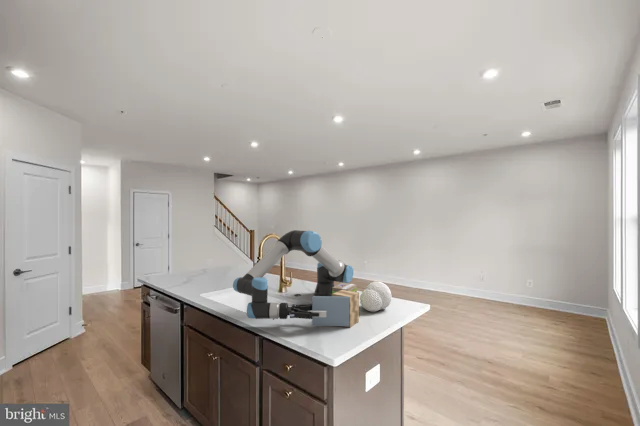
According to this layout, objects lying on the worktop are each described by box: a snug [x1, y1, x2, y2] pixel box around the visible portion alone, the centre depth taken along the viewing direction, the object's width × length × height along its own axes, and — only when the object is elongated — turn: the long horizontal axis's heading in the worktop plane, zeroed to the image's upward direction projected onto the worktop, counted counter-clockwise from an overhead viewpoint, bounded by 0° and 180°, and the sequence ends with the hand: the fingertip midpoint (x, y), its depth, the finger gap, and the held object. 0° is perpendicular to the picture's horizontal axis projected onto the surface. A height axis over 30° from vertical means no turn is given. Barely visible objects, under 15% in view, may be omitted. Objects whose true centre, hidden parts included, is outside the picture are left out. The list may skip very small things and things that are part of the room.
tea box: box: [332, 282, 358, 294], centre depth 172 cm, size 15×10×15 cm, turn 153°
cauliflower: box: [359, 281, 393, 313], centre depth 176 cm, size 20×18×16 cm
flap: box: [311, 295, 349, 327], centre depth 147 cm, size 1×18×14 cm, turn 89°
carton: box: [332, 290, 360, 328], centre depth 154 cm, size 10×10×15 cm
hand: (326, 311), depth 147 cm, fingers open, 8 cm apart
